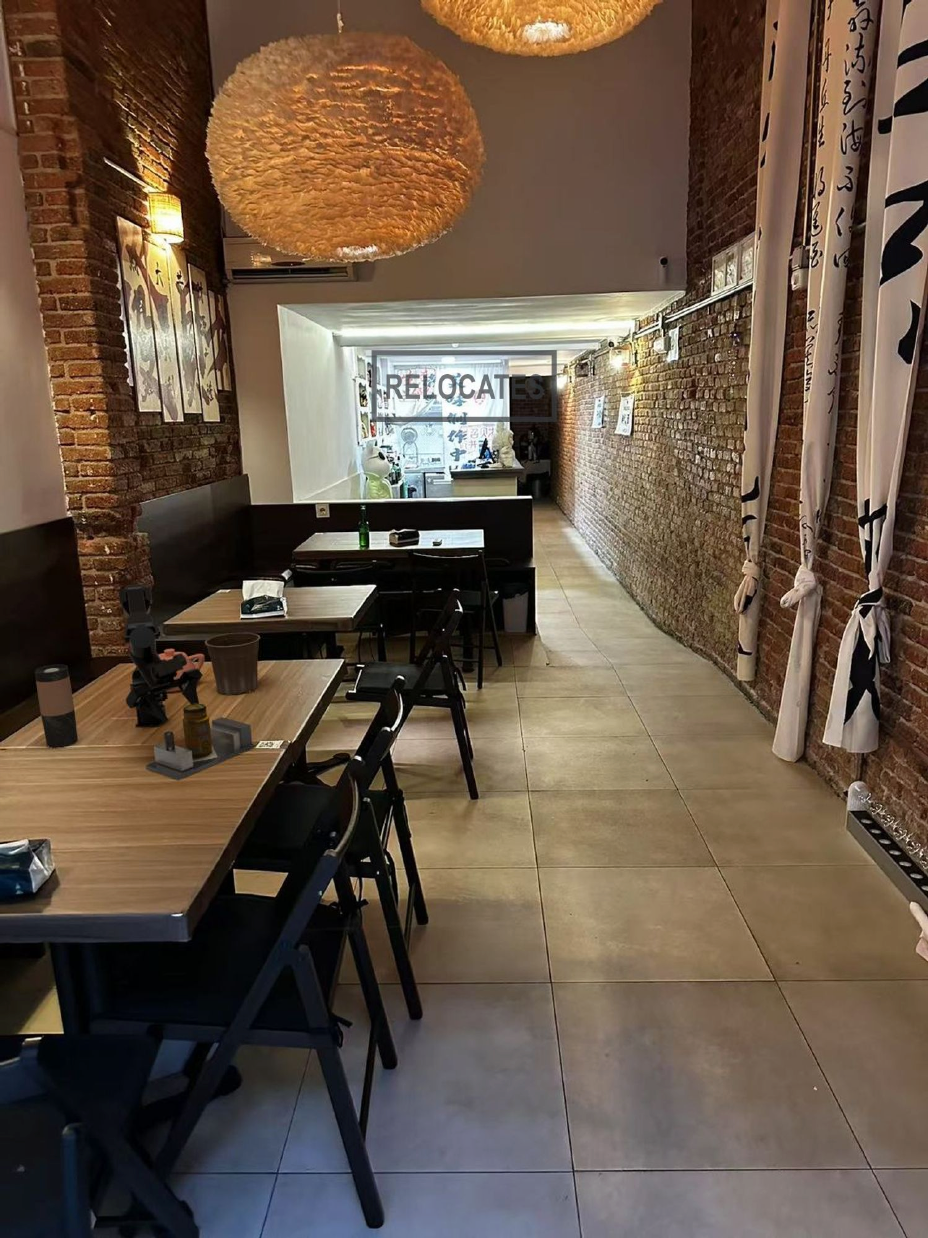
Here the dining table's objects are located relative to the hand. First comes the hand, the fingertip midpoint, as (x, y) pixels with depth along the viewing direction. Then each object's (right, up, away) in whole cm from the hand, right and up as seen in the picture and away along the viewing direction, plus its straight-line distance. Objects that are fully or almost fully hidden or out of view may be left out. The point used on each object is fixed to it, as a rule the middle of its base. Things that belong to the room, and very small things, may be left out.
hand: (183, 714), depth 189 cm
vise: (+5, -10, -1) cm, 11 cm away
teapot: (-24, +2, +55) cm, 60 cm away
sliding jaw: (+1, -11, -7) cm, 13 cm away
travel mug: (-35, -9, +11) cm, 38 cm away
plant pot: (-2, +1, +52) cm, 52 cm away
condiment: (+4, -10, -1) cm, 11 cm away
